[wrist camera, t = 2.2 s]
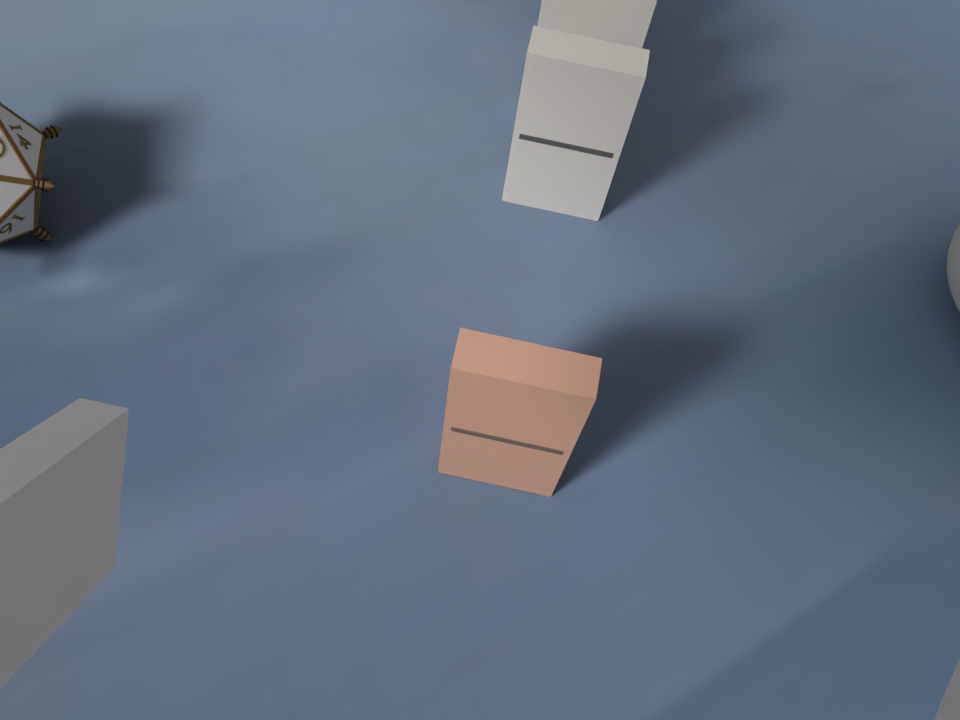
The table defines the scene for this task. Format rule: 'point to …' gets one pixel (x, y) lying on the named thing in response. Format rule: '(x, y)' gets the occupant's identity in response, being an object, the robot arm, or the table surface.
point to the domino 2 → (572, 121)
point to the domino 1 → (600, 19)
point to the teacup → (954, 267)
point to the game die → (21, 175)
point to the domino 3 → (515, 411)
